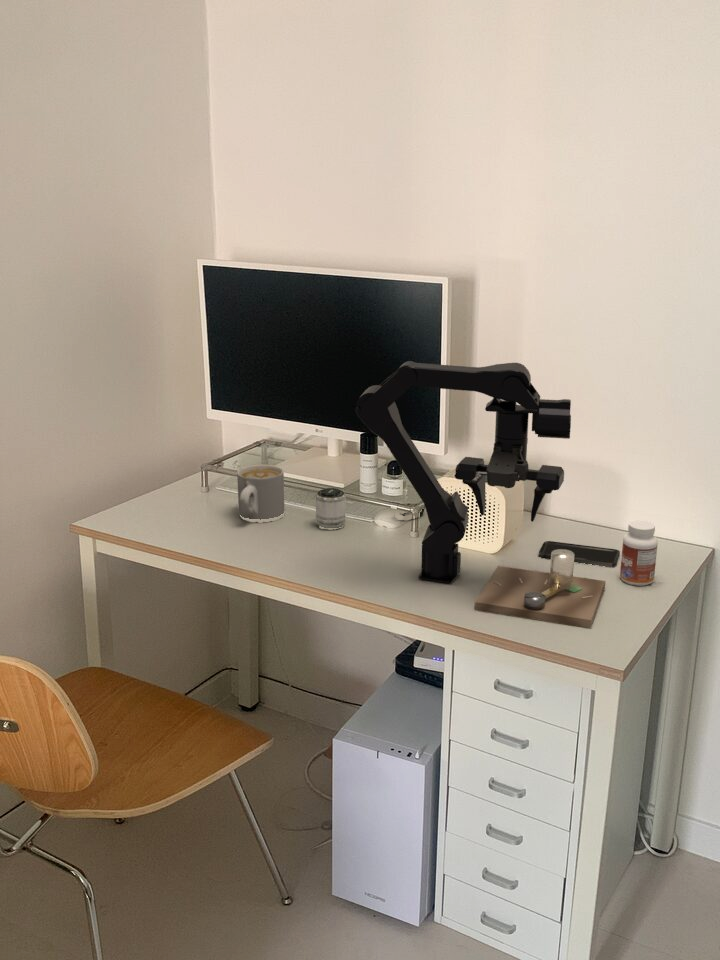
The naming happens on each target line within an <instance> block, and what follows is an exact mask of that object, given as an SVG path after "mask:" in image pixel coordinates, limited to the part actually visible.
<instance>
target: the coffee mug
mask: <svg viewBox="0 0 720 960" xmlns="http://www.w3.org/2000/svg"><path fill="white" fill-rule="evenodd" d="M284 474H285V473H284V470H283V468H281V467H279V466H275V465H270V464H254V465H253V464H252V465H248V466H245V467H242V468H240V469H238V470H237V474H236V475H237V498H238V502H237V503H238V516H239V515H241V516H242V517H244V518H249V519H260V520H261V519H269V518H274V517H278V516H280V515H281V514H283V513H284V511H285V486H284V485H285V483H284V482H285V478H284Z"/></svg>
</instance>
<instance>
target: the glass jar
mask: <svg viewBox="0 0 720 960" xmlns="http://www.w3.org/2000/svg"><path fill="white" fill-rule="evenodd" d="M346 496H347V495H346V493H345V492H344V491H343V490H342V489H339V488H337V487H327V488H322V489H320V490H318V491H317V492H316V495H315V517H316V523H317V526H318V525H319V526H321V527H324V528H339V527H342V526H343V525H344V526H345V523H346V517H347V513H346V511H347V509H346V501H347V500H346V499H347V497H346ZM345 514H346V516H345Z"/></svg>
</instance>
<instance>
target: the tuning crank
mask: <svg viewBox="0 0 720 960" xmlns="http://www.w3.org/2000/svg"><path fill="white" fill-rule="evenodd" d="M574 564H575V563H574V553H573V552H572V551H569V550H565V549H557V550H553V551H552V552H551V560H550V565H549V566H550V569H549V573H550V582H549V585H550V586H551V588H549V589H547V590H546V591H544V592H542V593H539V592H528V593H526V594H525V595H524V605H525V606H526V607H527V608H530V609H541V608H544V607H545V599H546V598H548V597H550V596H551V595H553V594H555V593H557V592H559V591H561V590H565V589H570V588H571V587H572V583H573V576H574V568H575V565H574Z"/></svg>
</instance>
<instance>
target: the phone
mask: <svg viewBox="0 0 720 960" xmlns="http://www.w3.org/2000/svg"><path fill="white" fill-rule="evenodd" d="M557 549H565V550H569V551H572V552H573V553H574V562H578V563H577V564H580V563H585V564H584V565H588V564H592V565H591V566H595V565H599V566H598V567H603V566H605V568H611V567H612V568H615V566H616V567H617V565H618V561H619V559H620V554H621V553H620V552H621V551H620V550H619V549H617V548H610V547H609V548H607V547H599V546H594V545H593V546H592V545H586V544H585V545H583V544H576V543H569V542H560V541H553V540H546V541H544V542H543V544H542V545H541V546H540V549H539V551H538V558H540V557H541V558H540V559H543V558H545V560H550V559H551V552H552V551H553V550H557Z"/></svg>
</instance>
